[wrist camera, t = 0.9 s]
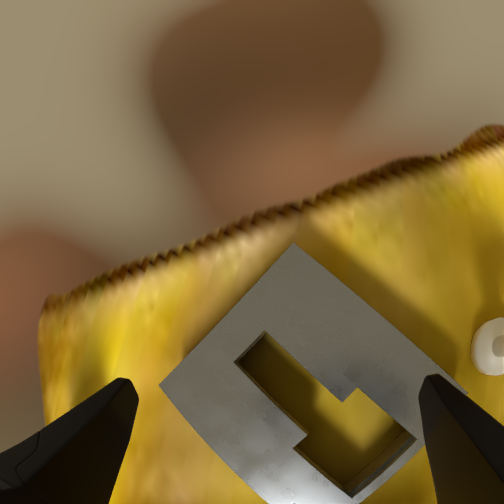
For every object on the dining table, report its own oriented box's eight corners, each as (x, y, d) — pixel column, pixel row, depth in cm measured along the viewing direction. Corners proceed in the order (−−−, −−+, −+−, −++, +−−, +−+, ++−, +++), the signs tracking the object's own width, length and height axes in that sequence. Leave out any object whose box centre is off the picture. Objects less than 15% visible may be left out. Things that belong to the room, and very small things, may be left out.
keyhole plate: (452, 389, 19) (468, 392, 16) (315, 517, 18) (310, 536, 15) (299, 256, 27) (293, 242, 23) (179, 383, 26) (158, 385, 23)
